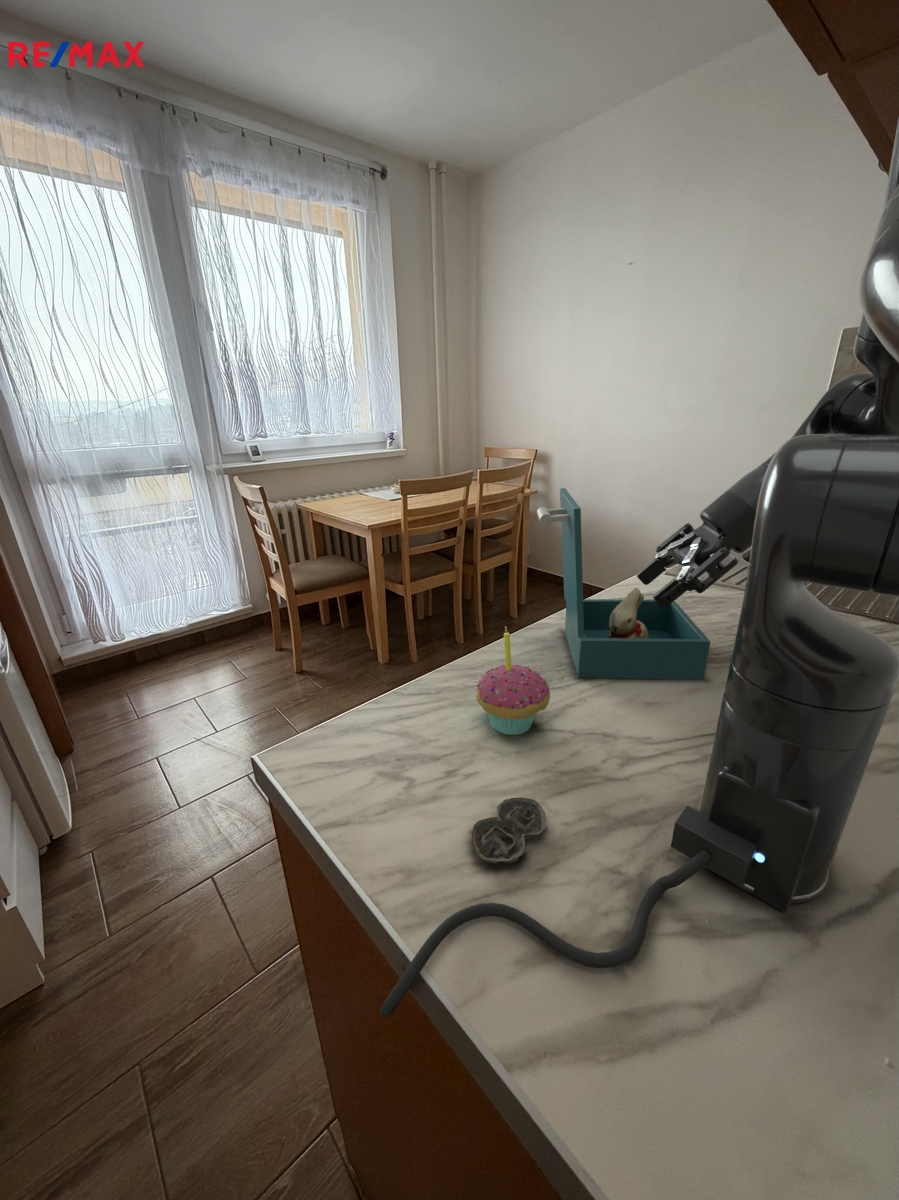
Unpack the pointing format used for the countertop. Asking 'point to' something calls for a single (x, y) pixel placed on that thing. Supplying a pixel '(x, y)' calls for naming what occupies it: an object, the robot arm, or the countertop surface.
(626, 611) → the chocolate bunny
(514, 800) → the corroded twin loop
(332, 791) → the countertop surface
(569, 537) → the chest lid
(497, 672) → the cupcake
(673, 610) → the chest
